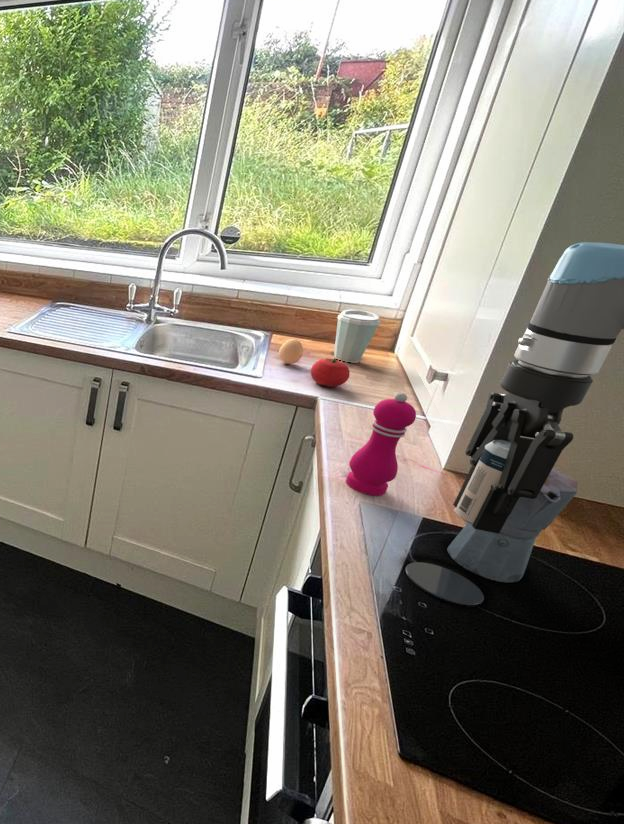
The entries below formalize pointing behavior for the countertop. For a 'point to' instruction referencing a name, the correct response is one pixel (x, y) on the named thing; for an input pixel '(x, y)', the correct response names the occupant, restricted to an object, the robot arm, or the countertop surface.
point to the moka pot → (513, 533)
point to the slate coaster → (444, 583)
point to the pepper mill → (381, 447)
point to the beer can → (483, 479)
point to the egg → (291, 351)
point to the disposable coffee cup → (354, 334)
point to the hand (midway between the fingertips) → (475, 518)
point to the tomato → (330, 372)
